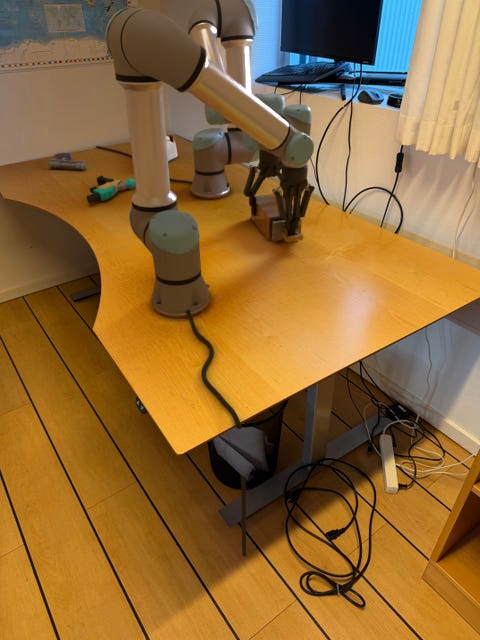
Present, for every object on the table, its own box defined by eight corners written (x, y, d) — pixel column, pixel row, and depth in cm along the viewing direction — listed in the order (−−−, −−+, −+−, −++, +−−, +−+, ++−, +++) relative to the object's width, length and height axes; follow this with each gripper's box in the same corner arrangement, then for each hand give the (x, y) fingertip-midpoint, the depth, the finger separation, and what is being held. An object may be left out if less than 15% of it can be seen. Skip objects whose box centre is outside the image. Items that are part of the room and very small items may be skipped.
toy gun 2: (64, 190, 179) (94, 197, 174) (109, 170, 198) (138, 176, 192) (66, 201, 182) (96, 209, 176) (111, 181, 200) (139, 187, 195)
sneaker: (133, 173, 208) (129, 144, 201) (161, 153, 230) (158, 127, 223) (155, 175, 205) (151, 146, 198) (180, 155, 227) (178, 129, 220)
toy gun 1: (97, 161, 222) (82, 172, 210) (61, 159, 225) (44, 169, 213) (96, 153, 220) (81, 163, 208) (59, 151, 223) (42, 161, 211)
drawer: (308, 245, 149) (309, 227, 146) (280, 249, 147) (281, 231, 143) (281, 216, 167) (282, 199, 164) (255, 219, 165) (256, 203, 161)
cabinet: (299, 235, 157) (300, 213, 152) (268, 240, 154) (269, 217, 150) (279, 214, 171) (279, 192, 166) (250, 218, 168) (250, 196, 164)
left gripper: (310, 157, 140) (305, 230, 154) (268, 162, 137) (267, 236, 151) (321, 165, 134) (315, 240, 148) (278, 170, 131) (275, 247, 145)
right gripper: (299, 141, 157) (296, 204, 170) (232, 148, 152) (234, 212, 165) (309, 147, 151) (304, 212, 164) (239, 154, 146) (240, 221, 159)
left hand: (291, 238), depth 150 cm, fingers closed
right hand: (269, 212), depth 164 cm, fingers closed on cabinet, 11 cm apart
